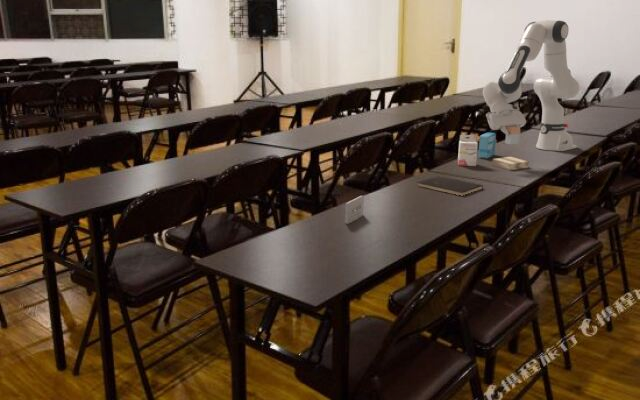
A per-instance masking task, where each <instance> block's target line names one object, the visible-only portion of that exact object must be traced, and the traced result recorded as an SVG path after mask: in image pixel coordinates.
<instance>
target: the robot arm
mask: <svg viewBox="0 0 640 400" xmlns="http://www.w3.org/2000/svg"><path fill="white" fill-rule="evenodd" d="M568 35H569V26H568V24H567V22H565V21H564V20H543V21H542V20H541V21H532V22H530V23H528V24H527V25H526V26H525V28H524V31H523V34H522V35H521V38H520V40H519V42H518V45H517V47H516V50H515V52H514V55H513V57H512V58H511V61H510V63H509V65H508V67H507V69H506V70H505V71H504V72H503V73H502V74H501V75H500V76H499V78H498V82H494V81H490V82H488V83H487V84H486V85H484V86H483V89H482V96H483V99H484V100H485V103H486V105H487V106H488V107H489V109H490V110H489V111H490V112H489V111H488V112H487V113H486V114H485V117H486V119H487V122H488V123H487V124H488V125H489V128H490V129H491V130H492V131H494V130H495V131H496V130H500V131H501V132H503V134H505V137H506V136H509V135H510V132H509V131H507V130H506V127H511V126H516V127H520V128H522V127H524V126H525V125H526V123H527V120H526V118H525V116H524V114H523V113H522V112H521V110H520V108H519V107H520V106H517V105H513V104H512V103H514V102H516V101H517V100H520V98H521V97H522V95H523V89H522V85H521V72H522V70H523V69H524V66H525V65H526V63H527V62H532V61H534V60H536V58H537V57H538V56H539V54H540V51H541V50H542V47H543V65H544V69H545V70H546V71H548V72H549V74H550V75H551V76H548V75H547V76H539V77H537V78H536V79H535V81H534V83H533V91H534V93H535V94H536V95H537V97H538V98H539V101H540V102H541V109H542V110H541V111H542V112H541V113H542V114H541V122H540V125H539V129H540V131H539V132H538V133H539V134H538V138H537V142H536V145H535V148H537V149H538V150H539V149H540V150H544V151H557V152H565V151H568V150H573V149H577V148H578V147H577V145H575V144H573V142H574V141H573V140H574V139H573V137H572V135H571V134H570V133H569V132H568V131H566V128H569V125H570V124H569V123H564V116H565V109H564V107H563V106H562V105H561V104H560V103H559V101H558V100H559V99H561V100H562V99H564V100H567V99H573V98H575V97H577V95H578V94H579V93H580V92H579V91H580V84H579V82H578V80H577V79H575V77H573V75H572V74H571V72H570V70H569V67H568V61H567V60H568V59H567V58H568V57H567V43H566V39H567V37H568ZM521 133H522V131H520V134H521Z"/></svg>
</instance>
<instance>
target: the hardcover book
mask: <svg viewBox="0 0 640 400" xmlns="http://www.w3.org/2000/svg"><path fill="white" fill-rule="evenodd" d="M417 186H418V187H421V188H426V189H429V190H434V191H439V192H443V193H446V192H447V194H450V195H451V194H452V195H455V194H456V196H459V195H461V196H460V197H463V195H464V196H466V195H465V194H467V195H469V194H472V193H474V191H475V192H477V191H479V190H483V189H484V186H483V184H480V183H479V184H478V183H475V182H469V181H465V180H461V179H455V178H451V177H447V176H443V175H435V176H433V177H429V178H426V179H423V180H421V181H420V180H419V181H417ZM471 192H472V193H471ZM468 193H469V194H468Z"/></svg>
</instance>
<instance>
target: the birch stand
mask: <svg viewBox="0 0 640 400" xmlns="http://www.w3.org/2000/svg"><path fill="white" fill-rule="evenodd" d="M529 163H530V162H529V160H525V159H521V158H518V157H515V156H504V157H498V158H492V163H491V164H492V166H495V167H497V168H501V169H504V170H507V171H513V170H514V171H515V170H519V169H527V168H529Z"/></svg>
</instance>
